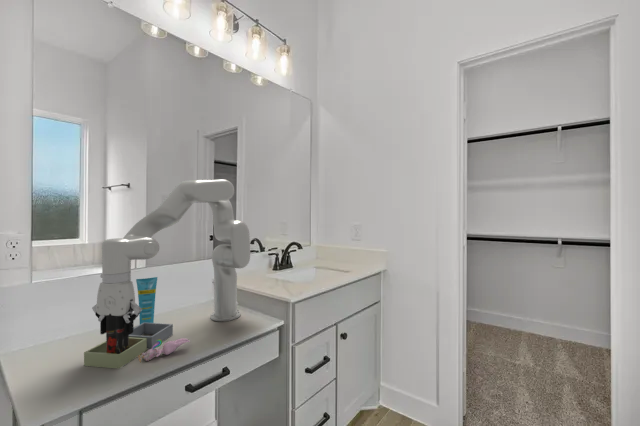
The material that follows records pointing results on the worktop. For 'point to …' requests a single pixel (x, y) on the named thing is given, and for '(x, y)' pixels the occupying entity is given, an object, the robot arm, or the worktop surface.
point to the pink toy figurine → (166, 349)
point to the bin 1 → (108, 360)
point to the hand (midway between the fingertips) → (117, 333)
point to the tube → (146, 298)
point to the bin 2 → (152, 332)
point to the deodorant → (116, 335)
